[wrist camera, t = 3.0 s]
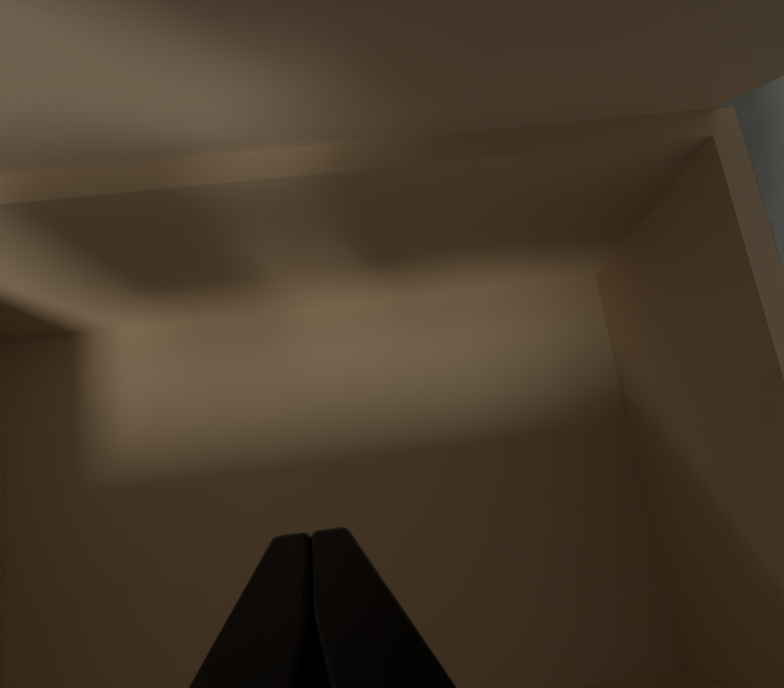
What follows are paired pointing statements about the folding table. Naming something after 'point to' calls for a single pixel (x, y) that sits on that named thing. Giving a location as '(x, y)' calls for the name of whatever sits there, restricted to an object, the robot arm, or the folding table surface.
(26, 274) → the carton
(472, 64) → the carton flap
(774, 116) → the folding table surface
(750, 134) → the folding table surface
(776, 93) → the folding table surface
